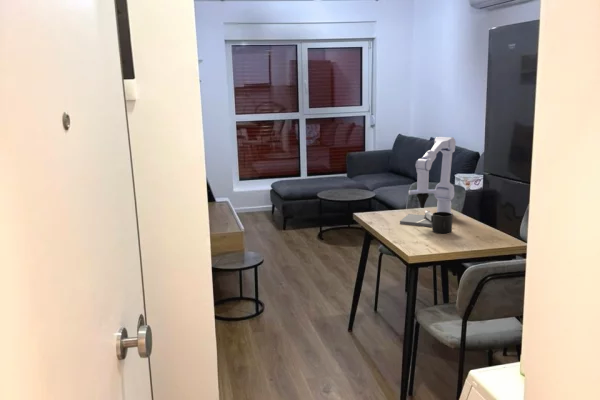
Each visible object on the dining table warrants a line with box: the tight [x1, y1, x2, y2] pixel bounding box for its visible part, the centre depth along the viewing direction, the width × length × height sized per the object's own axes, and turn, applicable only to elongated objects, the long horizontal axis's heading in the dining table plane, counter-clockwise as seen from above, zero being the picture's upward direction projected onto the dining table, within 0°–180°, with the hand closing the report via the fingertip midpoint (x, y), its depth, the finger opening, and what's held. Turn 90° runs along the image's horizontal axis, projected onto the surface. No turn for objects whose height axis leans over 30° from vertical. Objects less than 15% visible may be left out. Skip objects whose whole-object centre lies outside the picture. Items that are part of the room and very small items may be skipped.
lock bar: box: [424, 210, 433, 222], centre depth 286 cm, size 12×3×3 cm, turn 4°
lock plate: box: [399, 213, 433, 228], centre depth 290 cm, size 18×22×2 cm
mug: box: [431, 211, 453, 235], centre depth 270 cm, size 9×12×9 cm
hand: (422, 207), depth 283 cm, fingers closed
